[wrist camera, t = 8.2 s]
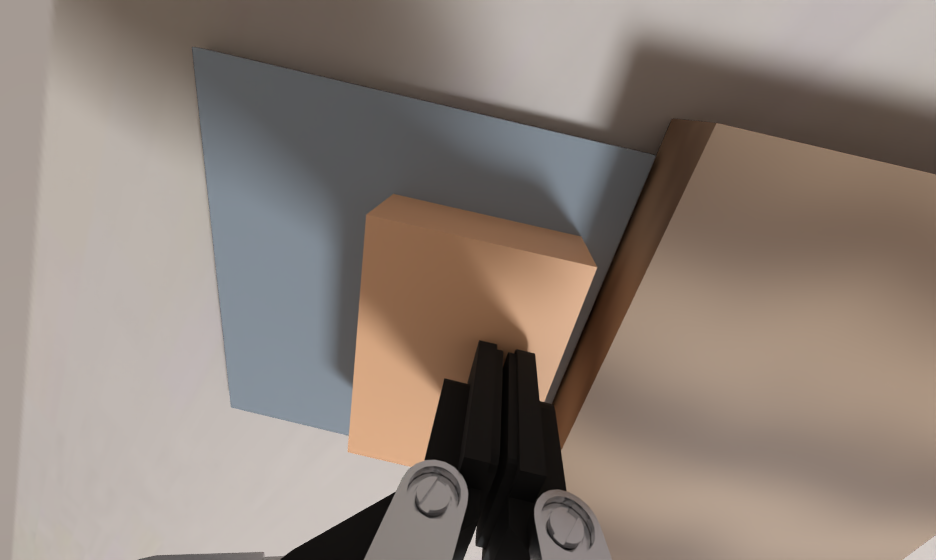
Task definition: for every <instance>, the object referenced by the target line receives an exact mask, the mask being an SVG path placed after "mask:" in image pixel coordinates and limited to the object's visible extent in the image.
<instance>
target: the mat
mask: <svg viewBox="0 0 936 560" xmlns="http://www.w3.org/2000/svg"><path fill="white" fill-rule="evenodd" d="M192 52H193V62H194V71H195V80H196V89H197V98H198V108H199V117H200V126H201V135H202V144H203V154H204V163H205V172H206V181H207V190H208V200H209V209H210V218H211V227H212V236H213V246H214V255H215V264H216V273H217V282H218V292H219V301H220V310H221V319H222V328H223V338H224V347H225V356H226V365H227V374H228V384H229V393H230V402H231V407H232V408H236V409H240V410H244V411H248V412H253V413H257V414H261V415H265V416H269V417H273V418H278V419H282V420H286V421H290V422H294V423H298V424H302V425H307V426H311V427H315V428H319V429H323V430H327V431H332V432H336V433H340V434H344V435H348V436H349V428H350V416H351V403H352V390H353V377H354V364H355V351H356V339H357V326H358V313H359V300H360V287H361V274H362V261H363V249H364V236H365V223H366V214H368V213H369V212H370V211H372V210H373V209H374V208H376V207H377V206H378V205H379V204H381V203H382V202H383V201H385V200H386V199H387V198H389V197H390V196H391V195H393V194H396V195H401V196H405V197H409V198H414V199H418V200H423V201H427V202H431V203H436V204H440V205H445V206H449V207H453V208H458V209H462V210H467V211H471V212H475V213H480V214H484V215H489V216H493V217H497V218H502V219H506V220H511V221H515V222H519V223H524V224H528V225H533V226H537V227H541V228H546V229H550V230H555V231H559V232H563V233H568V234H572V235H577V236H581V237H582V239H583V241H584V243H585V245H586V246H587V248H588V250H589V252H590V254H591V256H592V258H593V260H594V262H595V264H596V266H597V270H596V272H595V275H594V277H593V280H592V282H591V285H590V287H589V290H588V292H587V295H586V297H585V300H584V303H583V305H582V308H581V310H580V313H579V315H578V318H577V320H576V323H575V325H574V328H573V330H572V333H571V336H570V338H569V341H568V343H567V346H566V348H565V351H564V353H563V356H562V358H561V361H560V363H559V366H558V368H557V371H556V374H555V376H554V379H553V381H552V384H551V386H550V389H549V391H548V394H547V396H546V399H545V401H544V402H546V403H550V404H551V403H552V401H553V399H554V396H555V394H556V392H557V389H558V387H559V384H560V382H561V380H562V377H563V375H564V373H565V370H566V368H567V365H568V363H569V361H570V358H571V356H572V354H573V351H574V349H575V346H576V344H577V342H578V339H579V337H580V335H581V332H582V330H583V327H584V325H585V323H586V320H587V318H588V316H589V313H590V311H591V309H592V306H593V304H594V301H595V299H596V297H597V294H598V292H599V290H600V287H601V285H602V282H603V280H604V278H605V275H606V273H607V271H608V268H609V266H610V263H611V261H612V259H613V256H614V254H615V252H616V249H617V247H618V244H619V242H620V240H621V237H622V235H623V233H624V230H625V228H626V225H627V223H628V221H629V218H630V216H631V214H632V211H633V209H634V206H635V204H636V202H637V199H638V197H639V195H640V192H641V190H642V188H643V185H644V183H645V180H646V178H647V176H648V173H649V171H650V169H651V166H652V164H653V161H654V159H655V157H656V156H654V155H652V154H649V153H644V152H640V151H636V150H632V149H627V148H623V147H619V146H615V145H610V144H606V143H602V142H598V141H593V140H589V139H585V138H581V137H577V136H572V135H568V134H564V133H560V132H555V131H551V130H547V129H543V128H538V127H534V126H530V125H526V124H521V123H517V122H513V121H509V120H504V119H500V118H496V117H492V116H487V115H483V114H479V113H475V112H470V111H466V110H462V109H458V108H453V107H449V106H445V105H441V104H437V103H432V102H428V101H424V100H420V99H415V98H411V97H407V96H403V95H398V94H394V93H390V92H386V91H381V90H377V89H373V88H369V87H364V86H360V85H356V84H352V83H347V82H343V81H339V80H335V79H330V78H326V77H322V76H318V75H313V74H309V73H305V72H301V71H297V70H292V69H288V68H284V67H280V66H275V65H271V64H267V63H263V62H258V61H254V60H250V59H246V58H241V57H237V56H233V55H229V54H224V53H220V52H216V51H212V50H207V49H203V48H197V47H192Z"/></svg>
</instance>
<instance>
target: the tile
mask: <svg viewBox="0 0 936 560" xmlns="http://www.w3.org/2000/svg"><path fill="white" fill-rule="evenodd" d="M596 270H597V266H596V264H595V262H594V260H593V258H592V256H591V254H590V252H589V250H588V248H587V246H586V245H585V243H584V241H583V239H582V237H581V236H577V235H572V234H568V233H563V232H559V231H555V230H550V229H546V228H541V227H537V226H533V225H528V224H524V223H519V222H515V221H511V220H506V219H502V218H497V217H493V216H489V215H484V214H480V213H475V212H471V211H467V210H462V209H458V208H453V207H449V206H445V205H440V204H436V203H431V202H427V201H423V200H418V199H414V198H409V197H405V196H401V195H396V194H393V195H391V196H390V197H389V198H387V199H386V200H385V201H383V202H382V203H381V204H379V205H378V206H377V207H376V208H374V209H373V210H372V211H370V212H369V213H368V214H366V223H365V236H364V249H363V261H362V274H361V287H360V300H359V313H358V326H357V339H356V351H355V364H354V377H353V390H352V403H351V416H350V428H349V441H348V452H350V453H354V454H358V455H363V456H367V457H371V458H375V459H380V460H384V461H388V462H393V463H397V464H401V465H405V466H410V467H412V466H414V465H415V464H416V463H419V462H422V461H424V459H425V455H426V451H427V447H428V443H429V439H430V435H431V431H432V427H433V423H434V419H435V414H436V410H437V406H438V402H439V398H440V394H441V390H442V386H443V382H444V378H446V379H450V380H454V381H458V382H462V383H466V384H467V382H468V379H469V375H470V371H471V368H472V364H473V360H474V357H475V353H476V349H477V346H478V342H479V340H481V341H485V342H489V343H494V344H497V349H498V350H502V351H503V366H504V363H505V360H506V356H507V354H508V352H510V353H514V352H515V350H516V349H519V350H523V351H527V352H531V353H535V356H536V367H537V378H538V388H539V399H540V401H542V402H544V401H545V399H546V396H547V394H548V391H549V389H550V386H551V384H552V381H553V379H554V376H555V374H556V371H557V368H558V366H559V363H560V361H561V358H562V356H563V353H564V351H565V348H566V346H567V343H568V341H569V338H570V336H571V333H572V330H573V328H574V325H575V323H576V320H577V318H578V315H579V313H580V310H581V308H582V305H583V303H584V300H585V297H586V295H587V292H588V290H589V287H590V285H591V282H592V280H593V277H594V275H595V272H596Z"/></svg>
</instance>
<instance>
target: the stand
mask: <svg viewBox="0 0 936 560" xmlns="http://www.w3.org/2000/svg"><path fill="white" fill-rule="evenodd" d="M552 404H553V405H554V407H555V412H556V419H557V426H558V433H559V440H560V447H561V454H562V461H563V468H564V475H565V482H566V490H567V492H570V493H572V494H574V495H576V496H577V497H579V498H580V499H581V500H583V501H584V502H585V503H586V504H587V505H588V506H589V507H590V509H591V510H592V511H593V512H594V514H595V515H596V517H597V520H598V522H599V524H600V526H601V529H602V532H603V535H604V538H605V541H606V543H607V546H608V549H609V552H610V555H611V558H612V560H903V559H904V558H905V557H907V556H908V555H909V554H911V553H912V552H913V551H915V550H916V549H917V548H919V547H920V546H921V545H923V544H924V543H926V542H927V541H928V540H930V539H931V538H932V537H934V536H935V535H936V174H932V173H928V172H923V171H919V170H915V169H911V168H906V167H902V166H898V165H894V164H889V163H885V162H881V161H877V160H872V159H868V158H864V157H860V156H855V155H851V154H847V153H843V152H838V151H834V150H830V149H826V148H821V147H817V146H813V145H809V144H804V143H800V142H796V141H792V140H787V139H783V138H779V137H775V136H770V135H766V134H762V133H758V132H753V131H749V130H745V129H741V128H736V127H732V126H728V125H724V124H719V123H713V122H702V121H692V120H682V119H672V120H671V122H670V125H669V127H668V129H667V132H666V134H665V136H664V139H663V141H662V143H661V146H660V148H659V151H658V153H657V155H656V158H655V160H654V162H653V165H652V167H651V170H650V172H649V174H648V177H647V179H646V181H645V184H644V186H643V189H642V191H641V193H640V196H639V198H638V200H637V203H636V205H635V207H634V210H633V212H632V215H631V217H630V219H629V222H628V224H627V226H626V229H625V231H624V234H623V236H622V238H621V241H620V243H619V245H618V248H617V250H616V252H615V255H614V257H613V260H612V262H611V264H610V267H609V269H608V271H607V274H606V276H605V279H604V281H603V283H602V286H601V288H600V290H599V293H598V295H597V298H596V300H595V302H594V305H593V307H592V309H591V312H590V314H589V316H588V319H587V321H586V324H585V326H584V328H583V331H582V333H581V335H580V338H579V340H578V343H577V345H576V347H575V350H574V352H573V354H572V357H571V359H570V362H569V364H568V366H567V369H566V371H565V373H564V376H563V378H562V380H561V383H560V385H559V388H558V390H557V392H556V395H555V397H554V399H553V402H552Z"/></svg>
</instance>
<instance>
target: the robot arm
mask: <svg viewBox="0 0 936 560" xmlns="http://www.w3.org/2000/svg"><path fill="white" fill-rule="evenodd" d="M476 526H477V529H476ZM475 529H476V546H478V547H482V548H483V550H482V560H612V558H611V555H610V552H609V549H608V546H607V543H606V541H605V538H604V535H603V532H602V529H601V526H600V524H599V522H598V520H597V517H596V515H595V514H594V512H593V511H592V510H591V509H590V507H589V506H588V505H587V504H586V503H585V502H584V501H583V500H581V499H580V498H579V497H577V496H576V495H574V494H572V493H570V492H567V490H566V482H565V475H564V468H563V461H562V454H561V447H560V440H559V433H558V426H557V419H556V412H555V407H554V405H553V404H550V403H546V402H542V401H540V399H539V388H538V378H537V367H536V356H535V353H531V352H527V351H523V350H519V349H516V350H515V352H514V353H510V352H508V354H507V356H506V360H505V363H504V366H503V351H502V350H498V349H497V344H494V343H489V342H485V341H481V340H479V342H478V346H477V349H476V353H475V357H474V360H473V364H472V368H471V371H470V375H469V379H468V382H467V384H466V383H462V382H458V381H454V380H450V379H446V378H444V382H443V386H442V390H441V394H440V398H439V402H438V406H437V410H436V414H435V419H434V423H433V427H432V431H431V435H430V439H429V443H428V447H427V451H426V455H425V459H424V461H422V462H419V463H416V464H415V465H414V466H412V467H411V468H410V469H408V471H407V472H406V473H405V475H404V476H403V478H402V480H401V482H400V484H399V486H398V488H397V490H396V492H394V493H393V494H391V495H389V496H387V497H385V498H384V499H382V500H380V501H378V502H377V503H375V504H373V505H371V506H370V507H368V508H366V509H364V510H362V511H361V512H359V513H357V514H355V515H354V516H352V517H350V518H348V519H347V520H345V521H343V522H341V523H340V524H338V525H336V526H334V527H332V528H331V529H329V530H327V531H325V532H324V533H322V534H320V535H318V536H317V537H315V538H313V539H311V540H309V541H308V542H306V543H304V544H302V545H301V546H299V547H297V548H295V549H294V550H292V551H291V552H289V553H288V554H287V555H285V556H276V557H265V555H264V552H249V553H218V554H186V555H156V556H152V557H147V558H142V559H139V560H463V559H464V556H465V554H466V551H467V548H468V546H469V544H470V542H471V539H472V537H473V534H474V531H475Z"/></svg>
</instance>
